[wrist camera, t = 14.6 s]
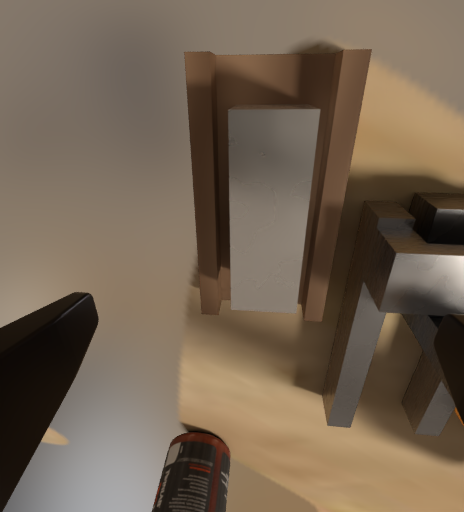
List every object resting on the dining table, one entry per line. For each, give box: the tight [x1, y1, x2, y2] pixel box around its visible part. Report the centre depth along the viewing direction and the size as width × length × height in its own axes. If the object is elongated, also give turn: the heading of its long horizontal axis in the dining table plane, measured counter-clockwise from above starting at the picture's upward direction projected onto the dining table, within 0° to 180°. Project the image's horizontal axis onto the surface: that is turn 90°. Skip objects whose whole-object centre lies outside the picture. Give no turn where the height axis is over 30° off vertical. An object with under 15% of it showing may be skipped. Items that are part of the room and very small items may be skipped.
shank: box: [228, 104, 320, 313], centre depth 14 cm, size 3×9×4 cm, turn 1°
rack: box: [184, 49, 372, 322], centre depth 16 cm, size 7×13×2 cm, turn 0°
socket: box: [322, 201, 464, 436], centre depth 18 cm, size 8×16×5 cm, turn 0°
